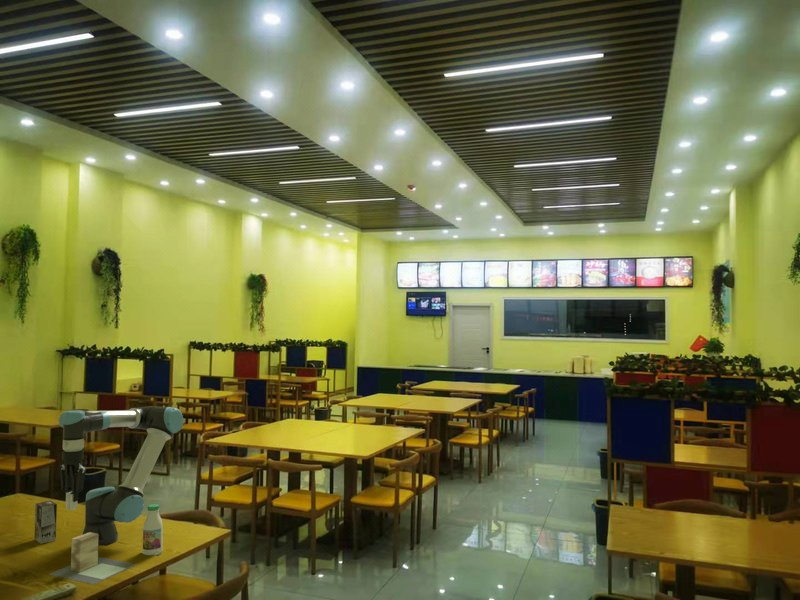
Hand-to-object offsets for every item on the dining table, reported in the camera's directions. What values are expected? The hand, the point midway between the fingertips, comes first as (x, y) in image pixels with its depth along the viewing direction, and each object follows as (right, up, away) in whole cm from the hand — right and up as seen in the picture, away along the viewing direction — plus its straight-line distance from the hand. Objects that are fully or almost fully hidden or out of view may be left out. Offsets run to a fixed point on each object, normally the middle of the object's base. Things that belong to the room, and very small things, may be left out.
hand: (71, 509), depth 239 cm
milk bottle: (+27, -23, +12) cm, 38 cm away
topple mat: (+12, -22, -6) cm, 26 cm away
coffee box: (-28, -24, +29) cm, 47 cm away
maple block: (+7, -21, -4) cm, 23 cm away
